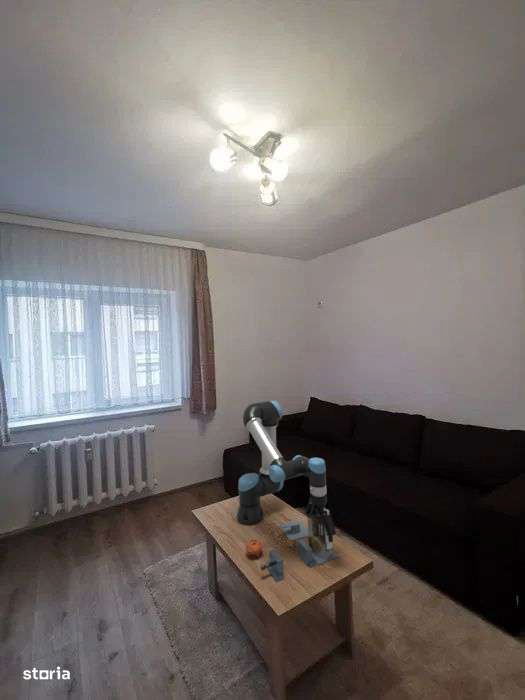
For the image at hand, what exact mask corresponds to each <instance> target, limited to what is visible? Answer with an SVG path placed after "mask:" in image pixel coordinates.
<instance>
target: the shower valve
mask: <svg viewBox="0 0 525 700" xmlns="http://www.w3.org/2000/svg"><path fill="white" fill-rule="evenodd" d="M279 527H280V529H281V530H282V532H283V534H285V536H286V537H287V539H288V541H289V542H294V541H298V540H300V539H306V538H309V533H308V526H306V524H305V523H304V522H303V521H300V520H298V519H297V520H296V519H294V520H290V521H288V522H287V521H286V522H284V523H281V524H279Z"/></svg>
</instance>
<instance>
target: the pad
mask: <svg viewBox="0 0 525 700" xmlns="http://www.w3.org/2000/svg"><path fill="white" fill-rule="evenodd" d="M312 557H313V558H314V559H315V560H316V561H317V566H321V565H323V564H325V563H327V562H330V561H333V560H335V559H337V558H339V557H340V556H339V554H338V553H337V552H336V551H334V550H333V553H332V554H331V555H330V556H329V557H328V558H327V559H324V558H322V557H320V556H318V555H316V554H314V553H312Z"/></svg>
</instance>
